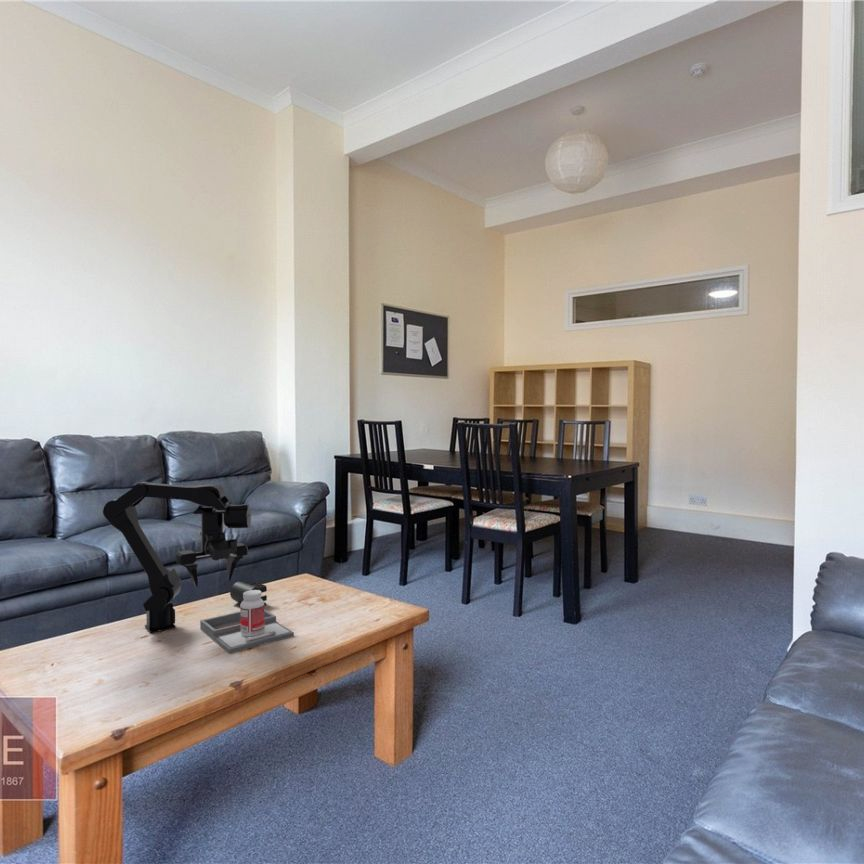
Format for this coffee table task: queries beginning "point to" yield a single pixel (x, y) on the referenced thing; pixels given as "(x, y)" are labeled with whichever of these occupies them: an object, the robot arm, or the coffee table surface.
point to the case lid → (237, 641)
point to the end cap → (241, 587)
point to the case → (209, 623)
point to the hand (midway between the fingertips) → (212, 583)
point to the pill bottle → (252, 614)
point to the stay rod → (260, 636)
